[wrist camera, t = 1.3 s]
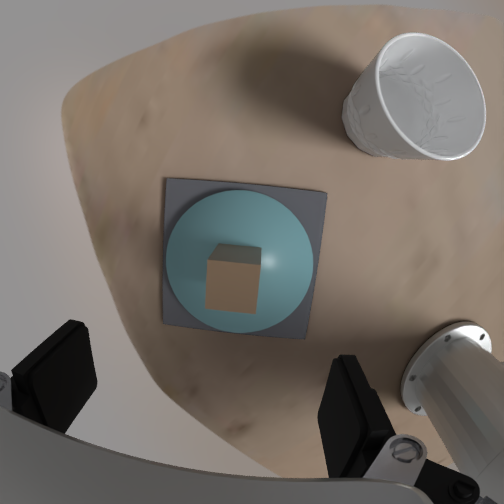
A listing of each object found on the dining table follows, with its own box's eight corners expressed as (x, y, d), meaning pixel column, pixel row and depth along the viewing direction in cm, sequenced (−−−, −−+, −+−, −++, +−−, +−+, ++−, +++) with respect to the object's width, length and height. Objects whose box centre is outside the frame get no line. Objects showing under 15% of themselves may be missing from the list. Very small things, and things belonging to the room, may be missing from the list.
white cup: (362, 179, 24) (418, 183, 14) (316, 96, 23) (347, 51, 13) (431, 143, 23) (502, 134, 13) (389, 66, 21) (444, 22, 12)
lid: (320, 198, 24) (337, 204, 18) (300, 334, 27) (308, 371, 21) (172, 184, 24) (146, 187, 19) (168, 319, 27) (147, 352, 21)
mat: (326, 192, 24) (327, 193, 24) (304, 336, 27) (304, 339, 27) (168, 178, 25) (166, 178, 24) (164, 321, 28) (163, 323, 27)
